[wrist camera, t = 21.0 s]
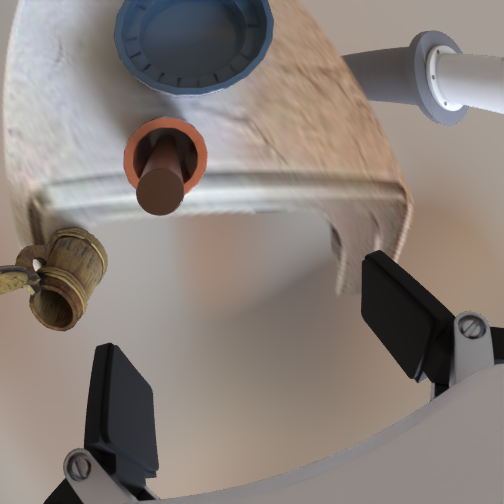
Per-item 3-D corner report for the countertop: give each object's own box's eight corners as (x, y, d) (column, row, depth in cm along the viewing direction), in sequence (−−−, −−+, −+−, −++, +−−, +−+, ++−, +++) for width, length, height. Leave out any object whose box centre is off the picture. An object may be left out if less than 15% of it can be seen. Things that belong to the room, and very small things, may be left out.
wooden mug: (67, 184, 29) (-4, 254, 14) (119, 270, 36) (101, 375, 21) (20, 218, 29) (-50, 298, 13) (72, 295, 36) (42, 395, 21)
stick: (172, 132, 30) (175, 161, 13) (178, 151, 31) (190, 206, 14) (152, 139, 30) (128, 179, 13) (159, 158, 31) (146, 222, 14)
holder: (186, 108, 29) (194, 106, 20) (202, 161, 33) (217, 184, 24) (130, 128, 29) (112, 136, 19) (148, 180, 32) (140, 211, 23)
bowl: (239, -25, 22) (253, -45, 17) (269, 80, 30) (288, 75, 25) (112, 5, 20) (103, -12, 15) (142, 115, 28) (136, 116, 23)
